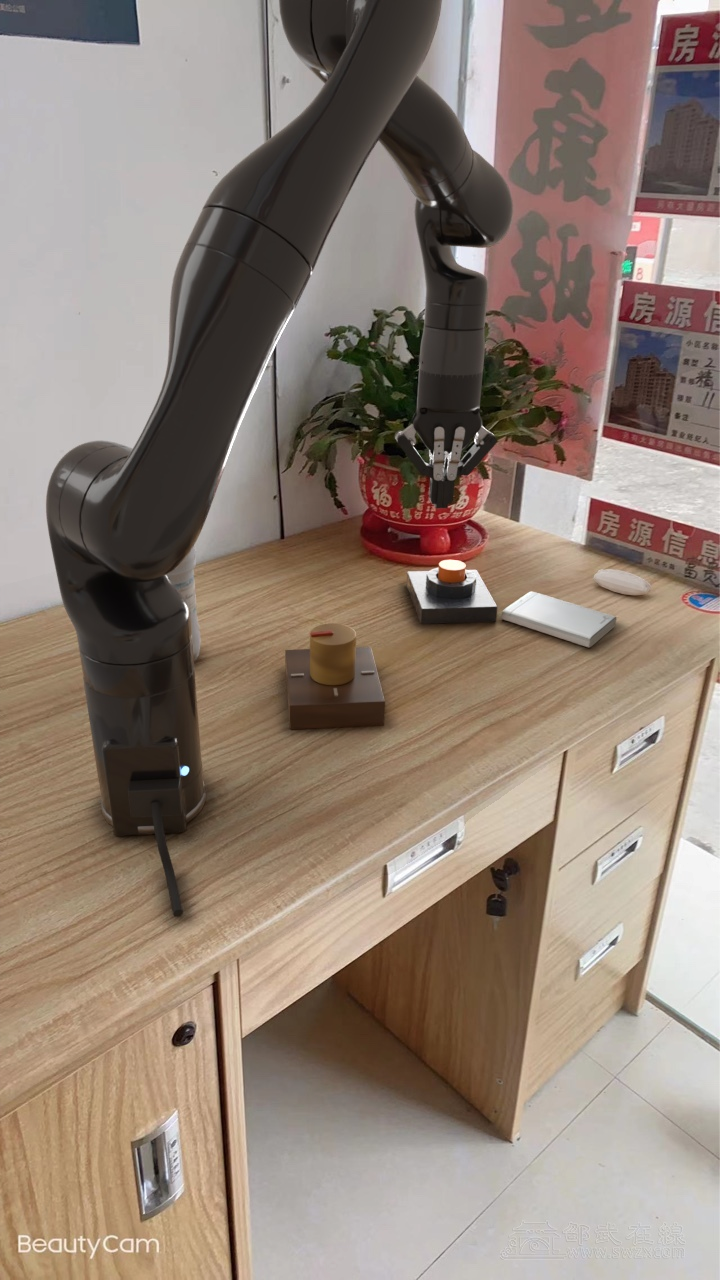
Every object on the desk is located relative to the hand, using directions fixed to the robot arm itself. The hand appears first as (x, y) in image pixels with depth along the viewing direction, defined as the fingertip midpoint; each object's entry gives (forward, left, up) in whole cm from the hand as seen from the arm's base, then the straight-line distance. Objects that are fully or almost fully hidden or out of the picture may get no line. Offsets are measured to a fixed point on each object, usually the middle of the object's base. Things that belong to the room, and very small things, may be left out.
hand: (440, 506), depth 112 cm
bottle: (-11, +33, -15) cm, 38 cm away
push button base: (+2, -3, -15) cm, 15 cm away
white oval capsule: (+4, -28, -15) cm, 31 cm away
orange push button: (+2, -3, -11) cm, 11 cm away
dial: (-21, +15, -11) cm, 29 cm away
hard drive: (-5, -16, -15) cm, 22 cm away
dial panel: (-21, +15, -15) cm, 30 cm away
